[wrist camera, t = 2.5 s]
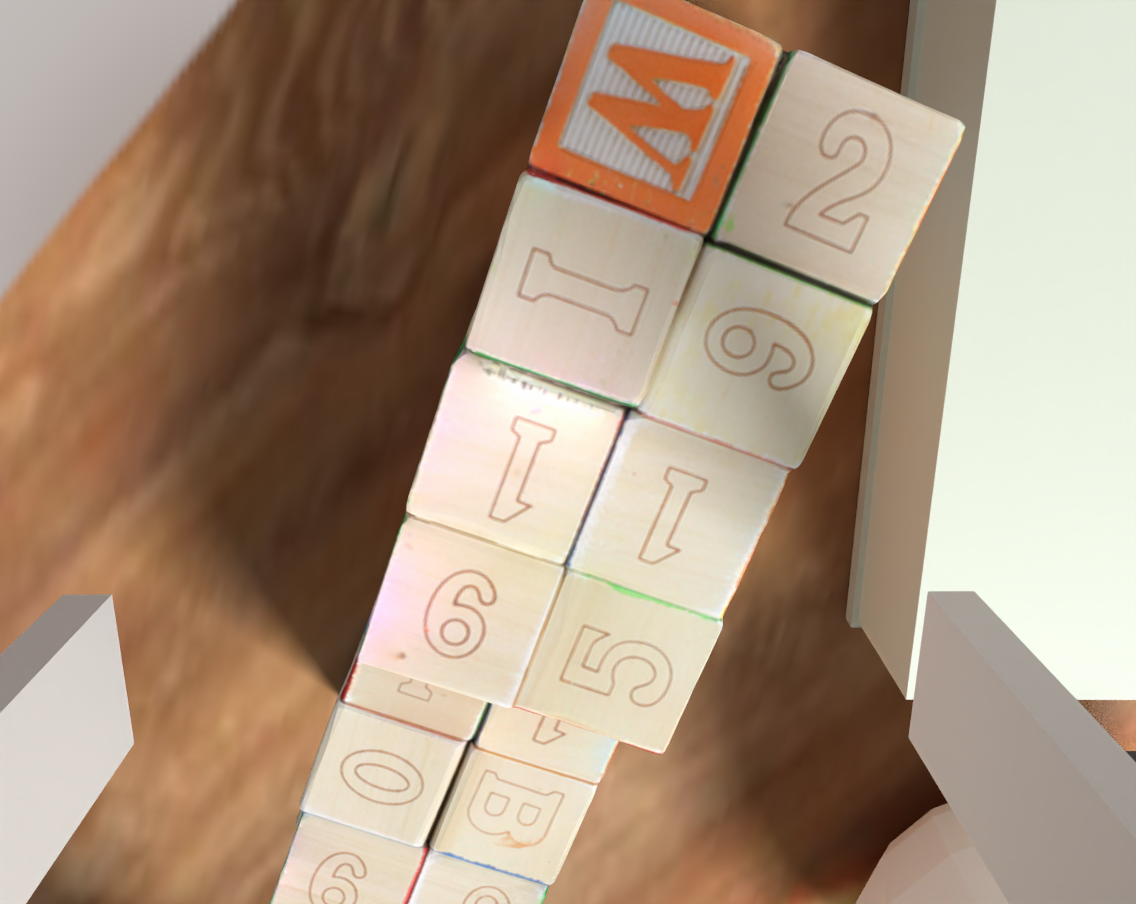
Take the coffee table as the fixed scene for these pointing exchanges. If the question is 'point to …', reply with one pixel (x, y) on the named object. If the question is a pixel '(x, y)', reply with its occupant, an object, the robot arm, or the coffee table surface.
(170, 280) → the coffee table surface
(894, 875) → the cup
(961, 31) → the plinth
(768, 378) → the stack of blocks
